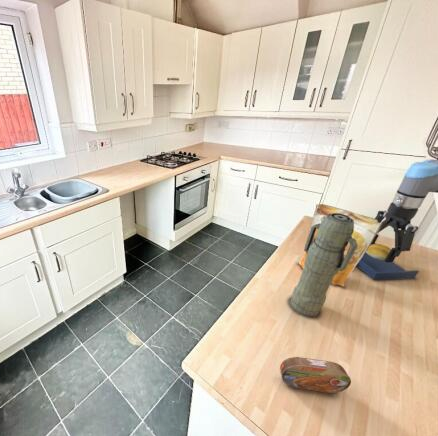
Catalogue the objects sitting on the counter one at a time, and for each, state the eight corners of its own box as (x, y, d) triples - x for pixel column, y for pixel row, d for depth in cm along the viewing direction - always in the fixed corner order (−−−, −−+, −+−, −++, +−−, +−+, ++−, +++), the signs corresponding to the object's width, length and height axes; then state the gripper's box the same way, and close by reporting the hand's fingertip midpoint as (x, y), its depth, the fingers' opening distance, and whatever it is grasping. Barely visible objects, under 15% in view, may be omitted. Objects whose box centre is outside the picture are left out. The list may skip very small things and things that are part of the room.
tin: (278, 384, 62) (286, 365, 58) (275, 372, 64) (282, 352, 60) (344, 396, 59) (358, 376, 55) (338, 382, 62) (350, 363, 58)
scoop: (372, 249, 111) (375, 243, 109) (414, 278, 94) (419, 271, 92) (317, 251, 110) (320, 245, 109) (350, 281, 93) (353, 274, 92)
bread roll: (362, 254, 100) (366, 246, 98) (368, 246, 105) (372, 239, 103) (388, 264, 94) (393, 256, 93) (394, 255, 99) (398, 247, 97)
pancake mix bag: (300, 258, 106) (321, 200, 92) (352, 284, 92) (385, 219, 78) (292, 264, 103) (312, 205, 89) (344, 291, 89) (377, 226, 75)
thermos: (315, 325, 77) (359, 230, 60) (280, 300, 86) (310, 213, 69) (329, 312, 81) (374, 221, 64) (294, 290, 90) (325, 205, 73)
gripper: (370, 194, 98) (349, 240, 109) (425, 219, 79) (393, 272, 90) (388, 193, 99) (365, 239, 109) (447, 218, 80) (413, 271, 90)
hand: (378, 254), depth 100 cm, fingers closed on bread roll, 9 cm apart
